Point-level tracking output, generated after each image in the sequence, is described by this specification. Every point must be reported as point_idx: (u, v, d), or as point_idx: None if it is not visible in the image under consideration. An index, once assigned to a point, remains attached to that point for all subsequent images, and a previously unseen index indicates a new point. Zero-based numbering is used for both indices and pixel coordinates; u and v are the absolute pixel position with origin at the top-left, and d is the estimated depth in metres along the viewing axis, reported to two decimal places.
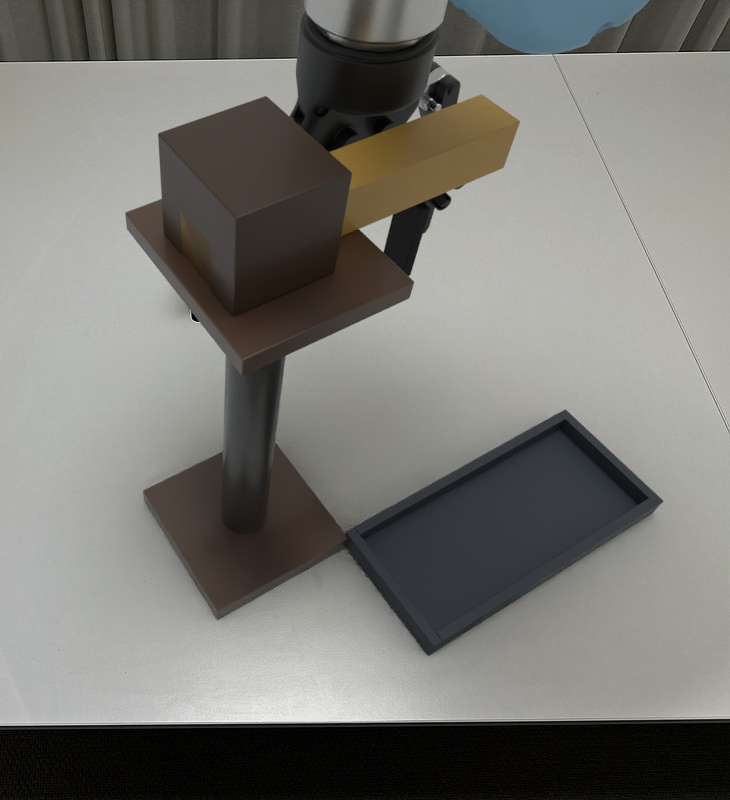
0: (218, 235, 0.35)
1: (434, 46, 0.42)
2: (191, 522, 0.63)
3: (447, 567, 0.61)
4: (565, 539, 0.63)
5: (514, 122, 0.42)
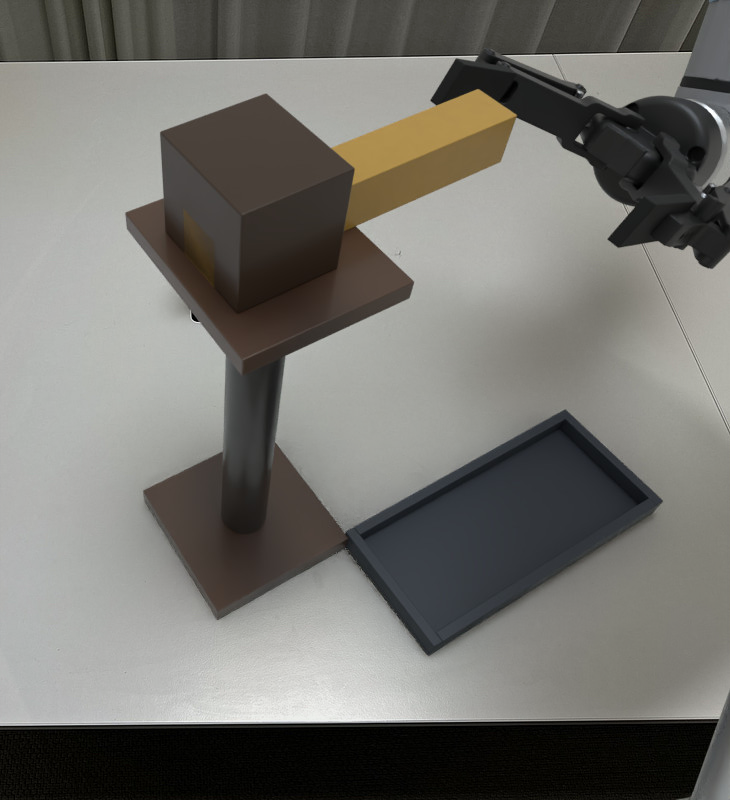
0: (222, 232, 0.35)
1: (719, 130, 0.54)
2: (191, 522, 0.63)
3: (447, 567, 0.61)
4: (565, 539, 0.63)
5: (511, 117, 0.42)
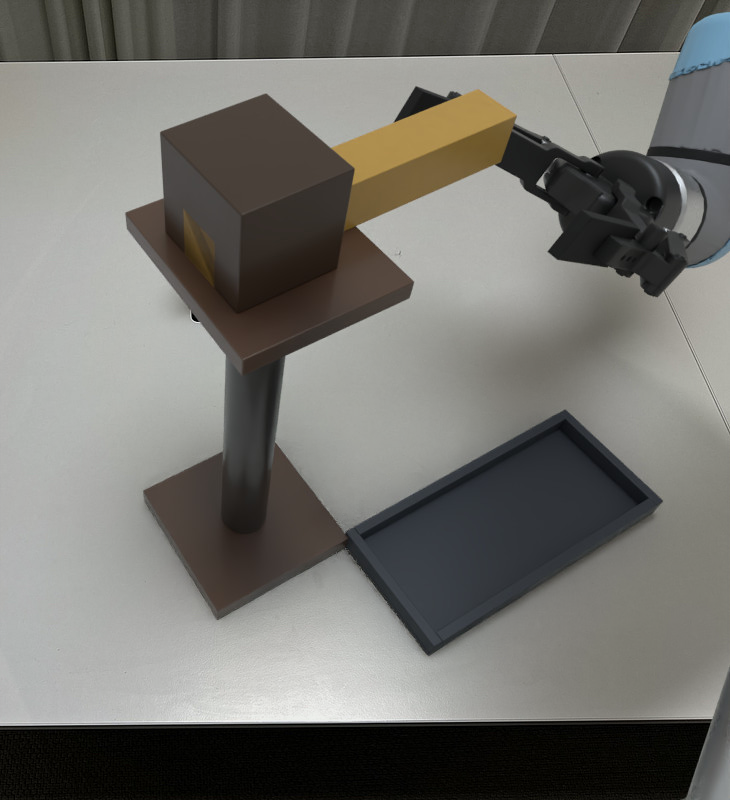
0: (222, 232, 0.35)
1: (678, 186, 0.56)
2: (191, 522, 0.63)
3: (447, 567, 0.61)
4: (565, 539, 0.63)
5: (511, 117, 0.42)
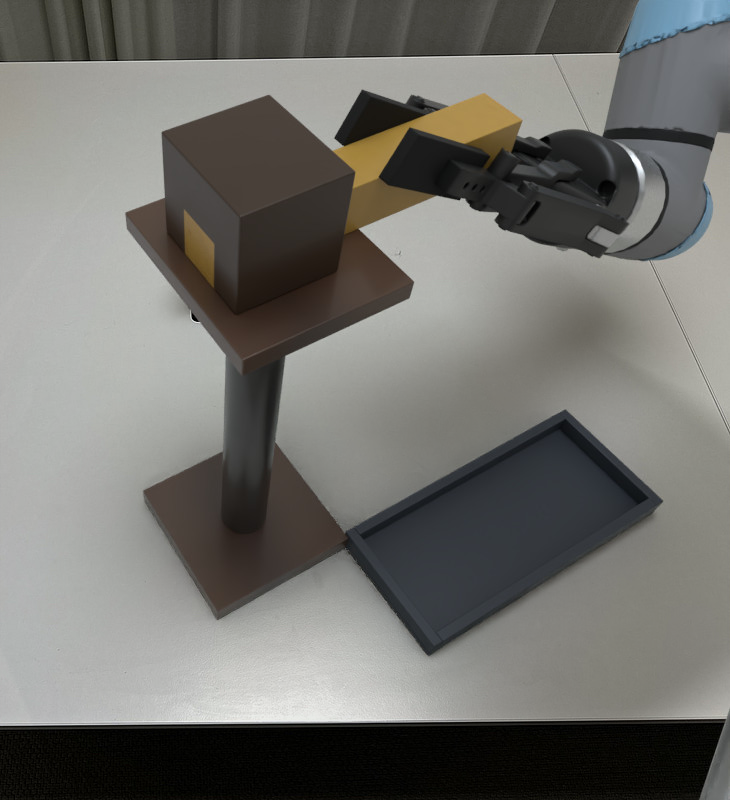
0: (221, 234, 0.35)
1: (635, 169, 0.51)
2: (191, 522, 0.63)
3: (447, 567, 0.61)
4: (565, 539, 0.63)
5: (517, 121, 0.42)
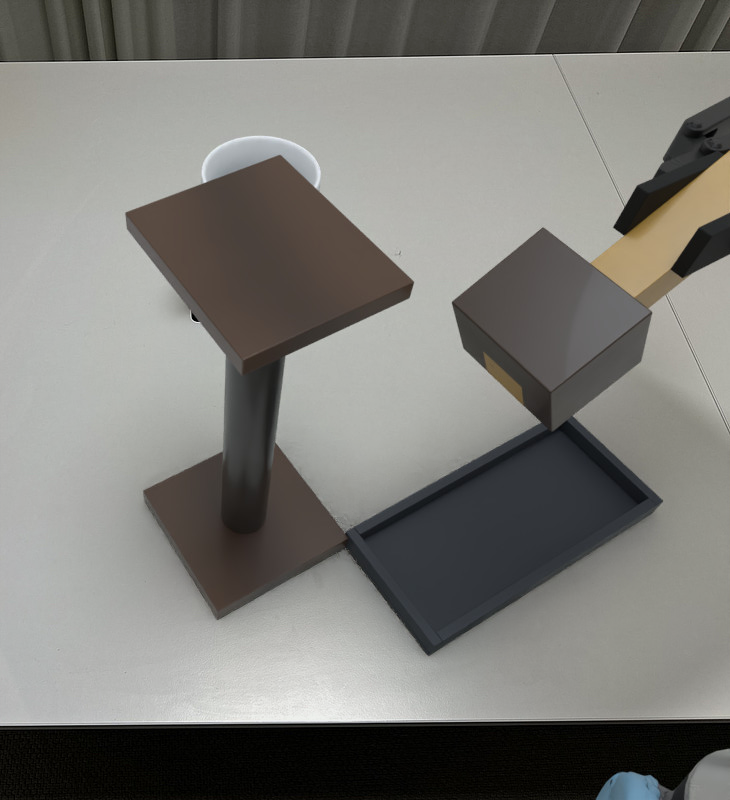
0: (529, 388, 0.40)
1: None
2: (191, 522, 0.63)
3: (447, 567, 0.61)
4: (565, 539, 0.63)
5: None
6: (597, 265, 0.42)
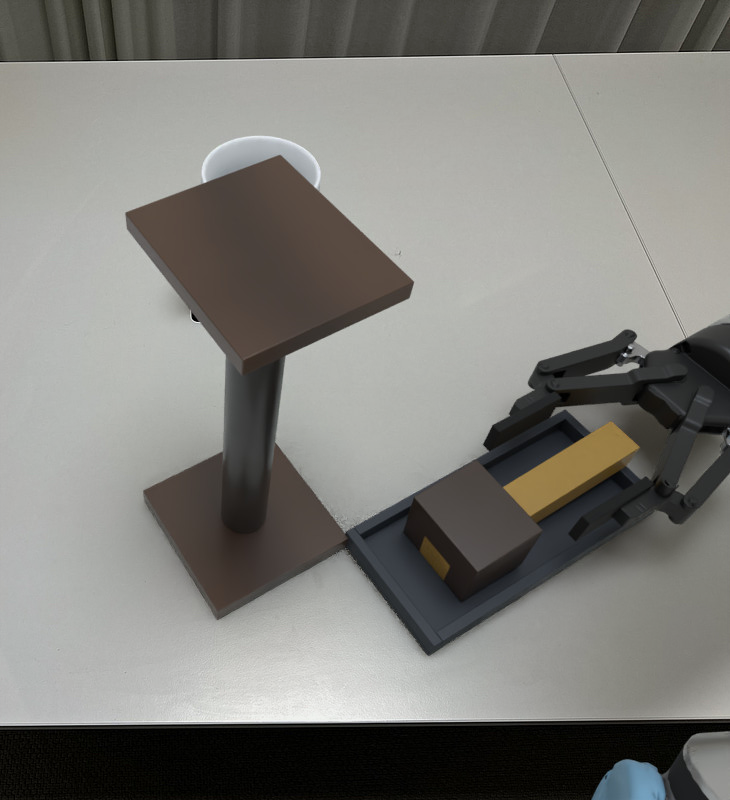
0: (458, 567, 0.57)
1: None
2: (191, 522, 0.63)
3: None
4: (565, 539, 0.63)
5: (636, 449, 0.62)
6: None
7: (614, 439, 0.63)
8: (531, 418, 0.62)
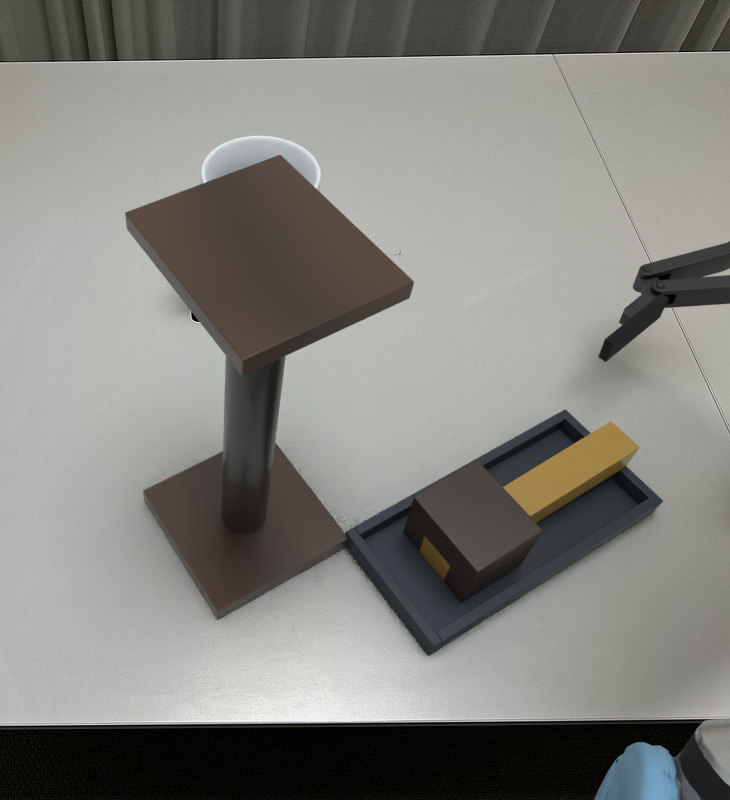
0: (458, 567, 0.57)
1: None
2: (191, 522, 0.63)
3: None
4: (565, 539, 0.63)
5: (636, 449, 0.62)
6: None
7: (614, 439, 0.63)
8: (642, 323, 0.65)
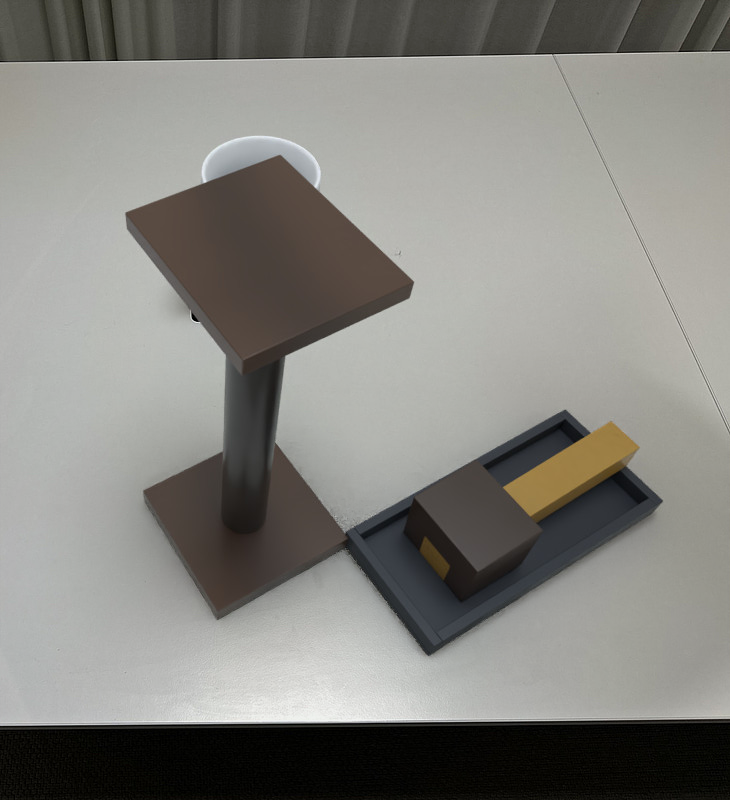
0: (458, 567, 0.57)
1: None
2: (191, 522, 0.63)
3: None
4: (565, 539, 0.63)
5: (636, 449, 0.62)
6: None
7: (614, 439, 0.63)
8: None
